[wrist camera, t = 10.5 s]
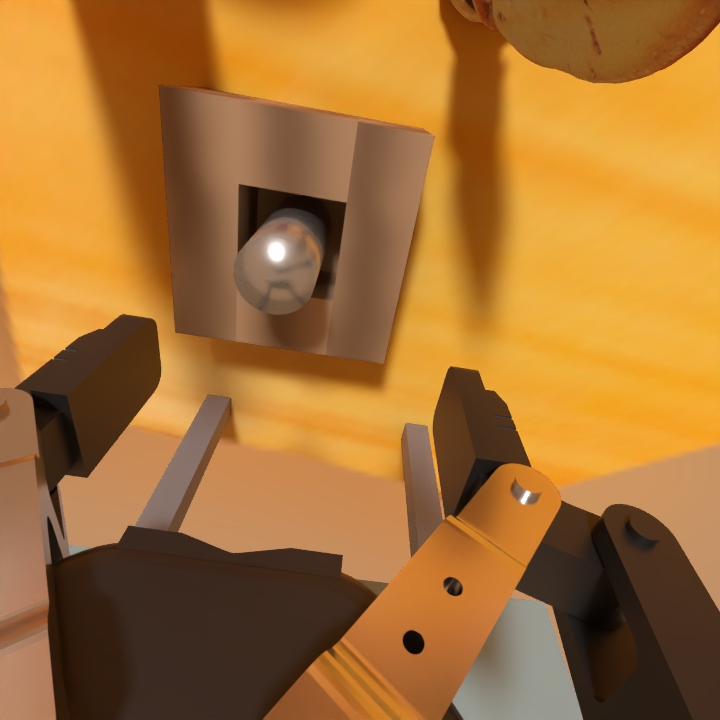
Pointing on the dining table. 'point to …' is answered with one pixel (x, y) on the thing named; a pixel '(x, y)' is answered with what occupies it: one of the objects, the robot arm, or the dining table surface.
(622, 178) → the dining table surface
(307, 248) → the peg
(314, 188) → the socket block
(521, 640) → the small grey stool
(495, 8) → the crab claw
